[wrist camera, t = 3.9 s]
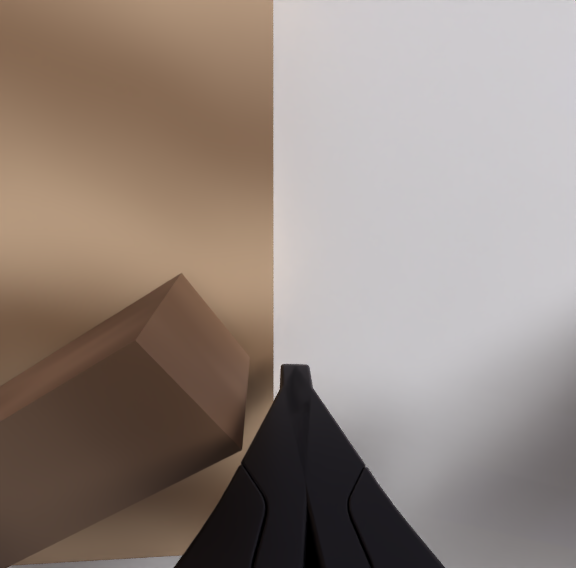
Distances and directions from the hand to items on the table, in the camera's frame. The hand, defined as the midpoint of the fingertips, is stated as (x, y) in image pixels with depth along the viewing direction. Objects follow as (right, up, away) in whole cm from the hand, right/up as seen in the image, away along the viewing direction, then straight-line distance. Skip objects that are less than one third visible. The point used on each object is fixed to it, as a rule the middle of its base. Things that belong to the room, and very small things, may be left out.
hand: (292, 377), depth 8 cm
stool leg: (-9, -3, +1) cm, 10 cm away
